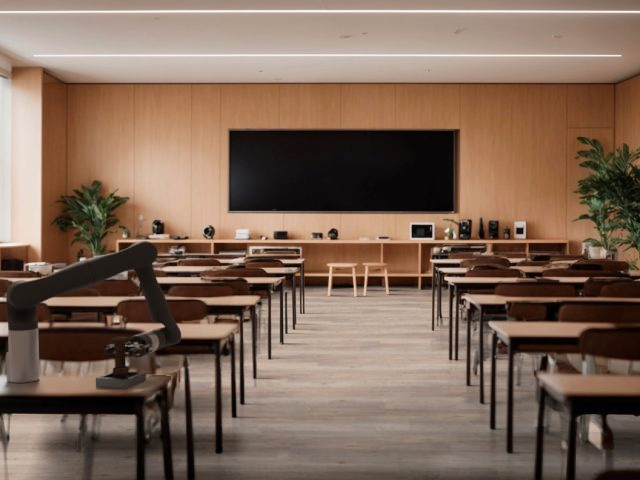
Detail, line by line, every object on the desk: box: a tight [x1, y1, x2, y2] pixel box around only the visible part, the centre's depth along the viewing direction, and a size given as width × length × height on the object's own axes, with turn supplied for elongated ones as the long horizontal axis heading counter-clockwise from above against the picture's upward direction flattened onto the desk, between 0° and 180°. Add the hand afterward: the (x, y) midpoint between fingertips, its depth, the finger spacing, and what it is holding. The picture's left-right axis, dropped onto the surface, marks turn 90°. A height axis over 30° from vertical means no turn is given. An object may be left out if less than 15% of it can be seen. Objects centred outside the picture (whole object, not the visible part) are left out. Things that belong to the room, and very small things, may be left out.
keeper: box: [95, 370, 147, 390], centre depth 228 cm, size 11×11×3 cm
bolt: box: [109, 336, 130, 379], centre depth 228 cm, size 6×5×15 cm
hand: (117, 353), depth 226 cm, fingers open, 8 cm apart
